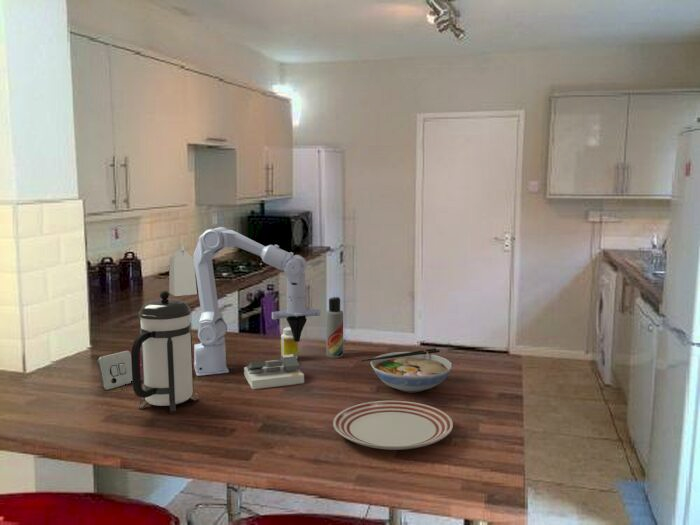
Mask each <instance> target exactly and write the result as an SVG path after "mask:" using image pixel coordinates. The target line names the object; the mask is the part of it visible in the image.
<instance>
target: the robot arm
mask: <svg viewBox="0 0 700 525" xmlns="http://www.w3.org/2000/svg"><path fill="white" fill-rule="evenodd" d="M195 247H196V248H195V250H194V252H193V257H192V258H193V259H194V265H195V277H196V286H197V291H198V297H199V298H198V299H199V305H200V312H201V315H200V317H199V320H198V325H199V327H198V330H197V338H198V340H199V341H200V343H195V344H194V345H193V346H194V347H193V352H194V353H193V357H194V359H193V360H194V361H193V367H194V370H195V371H194V372H195V374H196V376H197V377H199V376H211V375H219V374H228V373H230V371H229V368H228V367H227V360H226V359H227V358H226V338H225V335H227V331H228V324H227V322H226V321H225V319H224V317H223V313H222V312H221V311H220V309H219V306H220V305H219V300H218V294H217V293H218V292H217V286H216V279H215V273H214V272H215V271H214V265H213V259H214V257H216V256H217V254H218V253H219V252H220V251H221V250H223V249H224V248H225V249H226V248H233V247H234V248H235V247H236V248H239V249H241V250H244V251H246V252H249V253H251V254H254V255H256V256H259V257H260V258H261V260H262V262H263V263H265V264H266V265H269V266H270V267H273V268H275V269H278V270H280V271H282V272H283V271H284V273H285V275H286V282H285V283H286V284H285V286H286V293H285V294H286V309H284V310H279V311H271V319H272V320H273V321H274V320H277V319H278V320H279V319H286V321H287V323H288V326H289V327H290V328H291V331H292V334H293V339H294V341H295V342H298V343H299V342H301V341H300V340H301V336H302V332H303V329H304V327H305V325H306V323H307V317H321V309H320V308H307V304H306V303H307V300H306V295H307V294H306V287H307V286H306V285H307V284H306V283H307V282H306V272H305V271H306V270H307V267H308V264H307V260H306V259H305V258H304V257H303V256H302V255H301V254H295V255H294V252H292V251H290V252H288V251H286V250H284V249H282V248H280V245H278V244H274V245H273V244H269V245H266V246H265V245H263V244H261V243H260V242H257V241H256V240H253V239H251V238H249V237H247V236H245V235H244V234H241V233H240V232H237V231H235V230H232V229H228V228H227V227H224V226H218V227H215V228H210V229H206V230H205V231H204V232H203V233H202V234H201V235H200V236H199V237H198V242H197V245H196V246H195Z"/></svg>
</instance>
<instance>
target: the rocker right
mask: <svg viewBox="0 0 700 525" xmlns="http://www.w3.org/2000/svg"><path fill="white" fill-rule="evenodd" d="M280 361H282V363H283V365H284V367H285V369H286V371H291V370H300V371H301V369H300V366H301V365H300V362H299V361H298V358H297V359H296V357H295V356H294V354H290V355H281V354H280Z"/></svg>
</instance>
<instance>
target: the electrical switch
mask: <svg viewBox="0 0 700 525" xmlns="http://www.w3.org/2000/svg"><path fill="white" fill-rule="evenodd" d="M131 353H132V352H131V351H129V350H124V351H119V352H116V353H113V354H108V355H107V354H106V355H103V356H99V358H98V359H97V360H96V363H97V370H98V375H99V379H100V383H101V384H100V385H101V387H102V388H103V389H104V390H110V389H115V388H119V387H121V386H125V384H126V385H129V384H132V383H131V381H132V361H131Z"/></svg>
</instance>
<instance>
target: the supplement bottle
mask: <svg viewBox="0 0 700 525" xmlns="http://www.w3.org/2000/svg"><path fill="white" fill-rule="evenodd" d="M290 354H294V356H295V357H296V359H297V360H298V359H299V342H295V341H294V339H293V334H292V331H291V328H290V326H287V327H284V328H283V332H282V334H281V335H280V356H281V355H290Z"/></svg>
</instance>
